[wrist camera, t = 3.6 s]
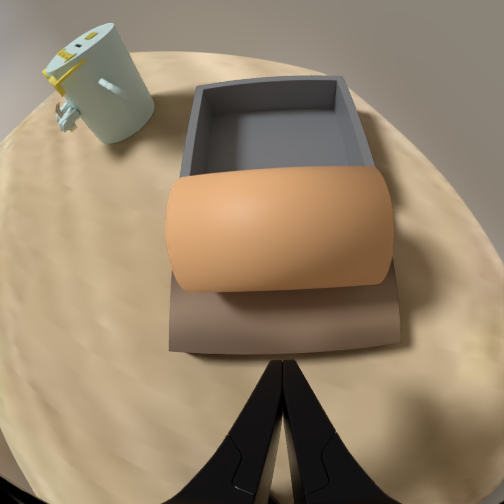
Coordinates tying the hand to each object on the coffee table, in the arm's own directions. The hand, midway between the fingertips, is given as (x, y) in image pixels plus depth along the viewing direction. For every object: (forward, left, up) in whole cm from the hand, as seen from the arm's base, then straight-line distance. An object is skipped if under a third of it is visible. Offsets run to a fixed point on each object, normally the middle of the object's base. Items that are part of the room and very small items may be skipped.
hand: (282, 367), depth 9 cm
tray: (+15, -11, -11) cm, 21 cm away
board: (+5, -4, -11) cm, 13 cm away
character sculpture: (+33, +1, -11) cm, 35 cm away
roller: (+6, -4, -5) cm, 9 cm away
